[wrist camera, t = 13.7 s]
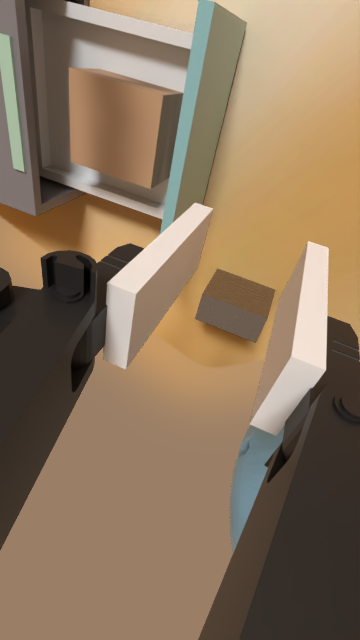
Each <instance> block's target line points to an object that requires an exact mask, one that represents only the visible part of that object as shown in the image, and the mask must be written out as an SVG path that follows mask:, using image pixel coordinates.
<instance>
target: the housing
mask: <svg viewBox="0 0 360 640" xmlns="http://www.w3.org/2000/svg"><path fill="white" fill-rule="evenodd" d="M64 1H68V2H72V3H76V4H80V5H84V6H88V7H89V0H64ZM85 193H87V192H84V191H81V190H78V189H75V188H73V187H70V186H67V185H64V184H61V183H59V182H56V181H53V180H50V179H47V178H44V177H42V176H39V168H38V156H37V144H36V132H35V120H34V108H33V96H32V85H31V73H30V61H29V49H28V37H27V25H26V13H25V1H24V0H0V203H1V204H4V205H7V206H9V207H12V208H15V209H17V210H20V211H23V212H25V213H28V214H30V215H33V216H38V215H40V214H43V213H45V212H47V211H49V210H51V209H53V208H55V207H58V206H60V205H62V204H64V203H66V202H68V201H70V200H72V199H75V198H77V197H79V196H81V195H83V194H85Z"/></svg>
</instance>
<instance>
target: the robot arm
mask: <svg viewBox="0 0 360 640" xmlns="http://www.w3.org/2000/svg"><path fill="white" fill-rule="evenodd" d="M212 212H213V208H210V207H207V206H204V205H201V204H198V203H194V204H193V205H192V206H191V207H190V208H189V209H188V210H186V211H185V212H184V213H183V214H182V215H181V216H180V217H179V218H178V219H177V220H176V221H174V222H173V223H172V224H171V225H170V226H169V227H168V228H167V229H166V230H165V231H163V232H162V233H161V234H160V235H159V236H158V237H157V238H156V239H155V240H154V241H152V242H151V243H150V244H149V245H148V246H147V247H146V248H145V249H144V248H141V247H139V246H136V245H133V244H131V243H130V244H127V245H123V246H120V247H117V248H116V249H115V250H113V251H112V252H111V253H109V254H108V256H106V257H104V258H103V259H102V260H101V262H98V263H96V261H95V260H94V259H93V258H91V257H90V256H89V255H86V254H83V253H81V252H76V251H70V250H68V251H56V252H52V253H48V254H46V255H45V256H43V257H41V266H42V277H43V288H42V289H41V290H37V289H30V288H24V287H18V286H12V282H11V278H10V275H9V273H8V272H7V271H5V270H4V269H2V268H0V550H1V548H2V546H3V544H4V542H5V540H6V538H7V536H8V534H9V532H10V530H11V528H12V526H13V524H14V522H15V521H16V519H17V517H18V515H19V513H20V511H21V509H22V507H23V505H24V503H25V501H26V499H27V497H28V495H29V493H30V491H31V489H32V487H33V486H34V484H35V481H36V480H37V478H38V476H39V474H40V471H41V470H42V468H43V466H44V464H45V462H46V460H47V458H48V456H49V454H50V452H51V450H52V448H53V447H54V445H55V443H56V441H57V439H58V437H59V435H60V433H61V431H62V429H63V427H64V425H65V423H66V421H67V419H68V417H69V415H70V413H71V412H72V409H73V408H74V405H75V403H76V402H77V400H78V398H79V396H80V394H81V392H82V390H83V388H84V386H85V384H86V382H87V380H88V378H89V376H90V375H91V373H92V371H93V367H94V362H95V356H96V355H97V353H98V352H99V351H100V350H101V349H102V348H103V360H105V361H108V362H110V363H112V364H115V365H117V366H119V367H121V368H123V369H127V367H128V366H129V365H130V363H131V362H132V360H133V359H134V358H135V356H136V355H137V353H138V352H139V350H140V349H141V348H142V346H143V345H144V343H145V342H146V341H147V339H148V338H149V336H150V335H151V334H152V332H153V331H154V329H155V328H156V326H157V325H158V324H159V322H160V321H161V319H162V318H163V317H164V315H165V314H166V312H167V311H168V309H169V308H170V307H171V305H172V304H173V302H174V301H175V300H176V298H177V297H178V295H179V294H180V292H181V291H182V290H183V288H184V287H185V285H186V284H187V283H188V281H189V280H190V278H191V277H192V276H193V274H194V273H195V271H196V270H197V268H198V264H199V261H200V257H201V253H202V250H203V246H204V242H205V238H206V235H207V231H208V227H209V223H210V220H211V216H212ZM328 255H329V248H327V247H324V246H321V245H318V244H315V243H312V242H310V241H308V243H307V245H306V247H305V249H304V251H303V253H302V255H301V257H300V259H299V261H298V263H297V265H296V267H295V269H294V271H293V273H292V275H291V277H290V279H289V281H288V283H287V285H286V287H285V289H284V291H283V293H282V295H281V297H280V299H279V303H278V307H277V311H276V315H275V320H274V324H273V328H272V332H271V336H270V340H269V345H268V349H267V353H266V357H265V361H264V366H263V370H262V374H261V378H260V382H259V387H258V391H257V395H256V399H255V403H254V408H253V412H252V416H251V420H250V427H249V429H248V430H247V432H246V434H245V436H244V438H243V441H242V443H241V447H240V451H239V455H238V458H237V460H236V462H235V467H234V471H233V478H232V484H231V493H230V535H231V544H232V551H233V555H232V558H231V560H230V563H229V565H228V568H227V571H226V573H225V575H224V578H223V580H222V583H221V585H220V588H219V590H218V592H217V595H216V597H215V600H214V602H213V605H212V607H211V610H210V612H209V615H208V617H207V619H206V622H205V624H204V627H203V629H202V632H201V634H200V637H199V639H198V640H360V362H359V360H360V356H359V351H358V350H359V346H358V337H357V335H356V334H355V332H354V330H353V329H352V327H351V326H350V324H348V323H345V322H342V321H340V320H337V319H334V318H332V317H329V316H327V302H328Z"/></svg>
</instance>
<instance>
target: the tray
mask: <svg viewBox="0 0 360 640" xmlns="http://www.w3.org/2000/svg"><path fill="white" fill-rule="evenodd" d="M24 1H25V13H26V25H27V37H28V49H29V61H30V73H31V85H32V96H33V108H34V120H35V132H36V144H37V156H38V168H39V176H42V177H44V178H47V179H50V180H53V181H56V182H59V183H61V184H64V185H67V186H70V187H73V188H75V189H78V190H81V191H84V192H87V193H89V194H92V195H95V196H98V197H101V198H103V199H106V200H109V201H112V202H115V203H118V204H120V205H123V206H126V207H129V208H132V209H134V210H137V211H140V212H143V213H146V214H148V215H151V216H154V217H157V218H160V219H162V225H161V231H160V234H161V233H162V232H163V231H165V230H166V229H167V228H168V227H169V226H170V225H171V224H172V223H173V222H174V221H176V220H177V219H178V218H179V217H180V216H181V215H182V214H183V213H184V212H185V211H186V210H188V209H189V208H190V207H191V206H192V205H193V204H194V203H198V204H201V205H202V204H203V200H204V196H205V192H206V188H207V184H208V180H209V176H210V172H211V168H212V163H213V159H214V155H215V151H216V147H217V143H218V139H219V135H220V131H221V127H222V122H223V118H224V114H225V110H226V106H227V102H228V98H229V94H230V90H231V86H232V82H233V77H234V73H235V69H236V65H237V61H238V57H239V53H240V49H241V45H242V41H243V36H244V32H245V28H246V24H247V22H245V21H243V20H242V19H240V18H239V17H237V16H236V15H234V14H233V13H231V12H229V11H228V10H226V9H225V8H223V7H222V6H220V5H219V4H217V3H216V2H212V1H208V0H199V4H198V10H197V16H196V22H195V28H194V33H190V32H186V31H182V30H178V29H174V28H170V27H166V26H162V25H159V24H155V23H151V22H147V21H143V20H139V19H135V18H131V17H127V16H123V15H119V14H115V13H111V12H108V11H104V10H100V9H96V8H92V7H88V6H84V5H80V4H76V3H72V2H68V1H64V0H24ZM69 68H91V69H103V70H106V71H110V72H113V73H117V74H120V75H124V76H127V77H130V78H134V79H137V80H141V81H144V82H148V83H151V84H155V85H158V86H162V87H165V88H169V89H172V90H176V91H179V92H183V99H182V105H181V111H180V117H179V123H178V129H177V135H176V141H175V147H174V153H173V159H172V165H171V171H170V177H169V178H168V179H166V180H165V181H163V182H161V183H160V184H158V185H157V186H155V187H153V188H152V189H149V188H146V187H143V186H140V185H137V184H134V183H131V182H128V181H125V180H122V179H119V178H117V177H114V176H111V175H108V174H105V173H102V172H99V171H96V170H93V169H90V168H87V167H85V166H82V165H79V164H76V163H73V162H71V152H70V107H69Z"/></svg>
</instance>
